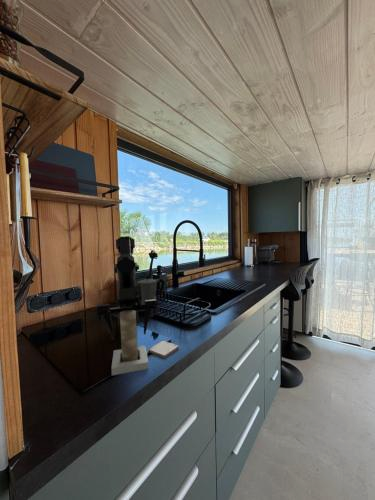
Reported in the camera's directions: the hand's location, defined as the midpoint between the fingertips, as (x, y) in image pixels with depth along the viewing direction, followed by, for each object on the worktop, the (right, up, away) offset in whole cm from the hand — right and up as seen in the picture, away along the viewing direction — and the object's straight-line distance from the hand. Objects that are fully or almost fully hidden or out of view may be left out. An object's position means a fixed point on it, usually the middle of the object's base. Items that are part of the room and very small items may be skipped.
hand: (128, 336), depth 65 cm
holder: (0, -9, +2) cm, 9 cm away
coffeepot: (-1, -6, +48) cm, 49 cm away
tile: (+9, -8, +8) cm, 15 cm away
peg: (0, -9, +2) cm, 9 cm away
